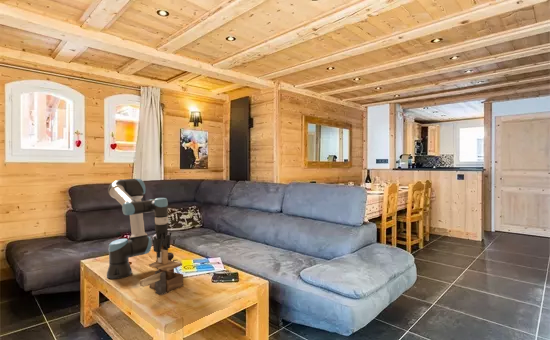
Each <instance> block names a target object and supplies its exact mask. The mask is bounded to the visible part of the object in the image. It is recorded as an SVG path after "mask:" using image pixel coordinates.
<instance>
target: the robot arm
mask: <svg viewBox="0 0 550 340" xmlns="http://www.w3.org/2000/svg"><path fill="white" fill-rule="evenodd" d="M146 190H147V189H146V184H145V182H144V181H143V179H142V178H126V179H123V178H122V179H116V180H114V181H113V182H111V183H110V184H109V186H108V188H107V192H108V196H110V197H111V198H113V199H115V200H116V201H117V202H118V203H119V204H120V205H121V209H122V210H121V211H122V213H123V215H124V216H129V222H130V232H131V235H130V236H129V239H128V238H118V239H115V240H112V241H111V242H110V243H109V244H108V261H109V262H108V264H109V265H108V267H107V272H106V278H107V279H109V278H110V280H117V279H124V278H126V277H129V276H131V275H132V273H133V272H132V271H133V270H132V267H131V264H130V262H129V261H130V260H129V258H133V257H134V258H135V257H137V256H144V255H146V254H148V253H150V252H151V249H152V248H153V252H155V253H156V252H157V257H158V262H159V263H162V252H161V247H163V249H164V250H168V251H169V249H170V248H171V236H172V232H171V231H169V212H168V211H169V210H168V208H169V207H168V206H169V203H168V202H169V201H168V199H167V197H157V198H154V199H152V198H151V199H148V200H142V199H143V197H144V195H145V194H146ZM147 213H154V231H155V232H154V233H155V234H154V235H152V236H151V237H150V236H148V234H147V232H145V221H144V214H147Z"/></svg>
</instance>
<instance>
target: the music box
mask: <svg viewBox="0 0 550 340" xmlns="http://www.w3.org/2000/svg"><path fill="white" fill-rule="evenodd" d="M161 249H163V246H161ZM174 257H175V256H174V253H173V252H169V251H168V260H170V261H174V262H177V259H174ZM155 262H157V259H156V260H155ZM156 270H157V271H159V270H160V272H161V271H164V270H161V269H158V268H156ZM169 271H171V272H175V268H174V269H172V270H169Z"/></svg>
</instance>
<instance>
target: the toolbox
mask: <svg viewBox="0 0 550 340" xmlns="http://www.w3.org/2000/svg"><path fill="white" fill-rule="evenodd" d="M158 270H159V269H158ZM158 270H156V271H154V273H153V274H152V275H155V274H157V273H160V270H159V271H158ZM161 272H162V273H160V280H159V281H156V282H154V283H152V284H149V285H148V286H149V289H152V290H155V292H154V293H155V294H158V295H160V296H164V295H165V294H169V293H171V292H173V291H176V290H178V289H179V288H181V287H184V274H183V273H180V272H179V273H178V272H175V271H174V272H171V271H165V270H164V271H161ZM152 275H149V276H148V277H150V276H152Z"/></svg>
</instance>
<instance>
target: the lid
mask: <svg viewBox="0 0 550 340" xmlns="http://www.w3.org/2000/svg"><path fill="white" fill-rule="evenodd" d="M161 252H162V263H159V262H158V257H157V252H155V253H156V255H155V256H156V260H157V262H156V261H155V262H152V263H149V265H148V266H149V267H151V268H155V269H157V268H158V269H157V270H159V269H161V270H165V271H169V270H172V269H174V270H175V269H176V268H179V267H182V266H183V263H181V262H179V261H173V260H171V261H170V260H168V252H169V249H168V250H164V249H161Z"/></svg>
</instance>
